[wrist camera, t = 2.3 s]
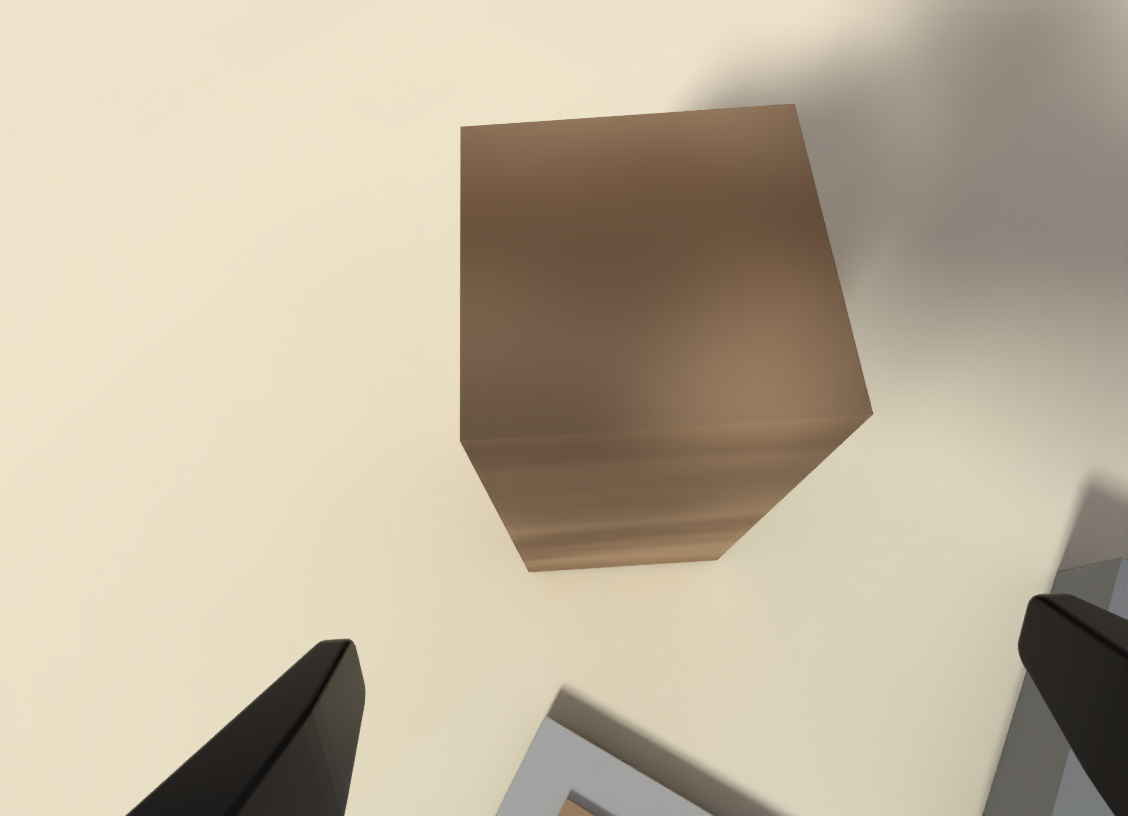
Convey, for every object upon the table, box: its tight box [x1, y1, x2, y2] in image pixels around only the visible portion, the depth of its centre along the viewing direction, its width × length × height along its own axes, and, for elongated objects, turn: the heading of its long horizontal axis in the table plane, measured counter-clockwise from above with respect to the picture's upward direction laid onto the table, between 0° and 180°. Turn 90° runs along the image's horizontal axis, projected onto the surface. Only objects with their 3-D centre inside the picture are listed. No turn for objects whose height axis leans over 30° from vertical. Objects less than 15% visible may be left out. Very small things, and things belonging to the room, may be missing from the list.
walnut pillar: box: [460, 104, 873, 572], centre depth 17 cm, size 6×6×12 cm
